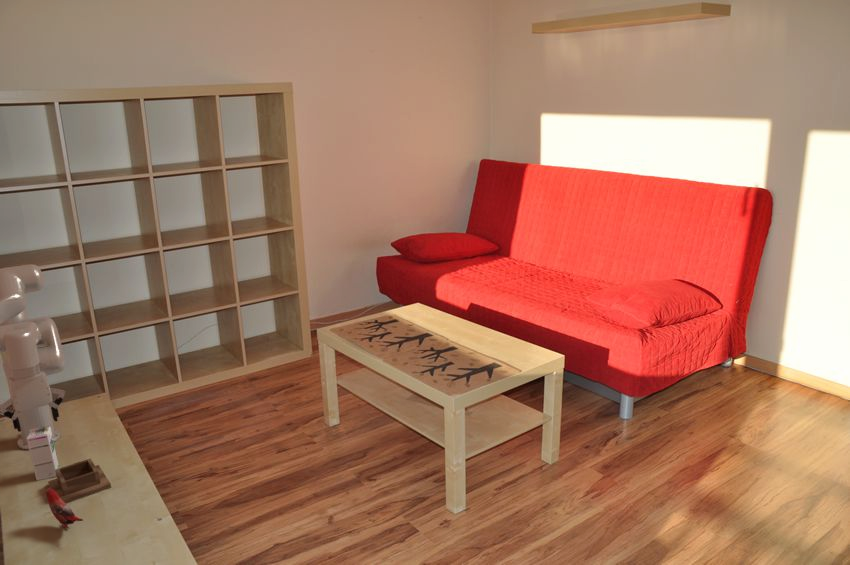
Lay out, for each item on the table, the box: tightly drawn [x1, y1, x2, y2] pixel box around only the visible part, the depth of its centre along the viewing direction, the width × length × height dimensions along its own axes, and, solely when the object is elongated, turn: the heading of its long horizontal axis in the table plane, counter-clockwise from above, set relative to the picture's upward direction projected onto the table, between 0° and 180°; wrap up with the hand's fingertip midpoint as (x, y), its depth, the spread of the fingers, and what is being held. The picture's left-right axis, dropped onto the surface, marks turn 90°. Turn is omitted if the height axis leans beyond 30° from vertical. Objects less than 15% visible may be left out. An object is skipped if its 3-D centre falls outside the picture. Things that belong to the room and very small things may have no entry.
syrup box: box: [27, 426, 60, 481], centre depth 205 cm, size 6×6×14 cm
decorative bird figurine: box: [45, 488, 84, 530], centre depth 178 cm, size 3×18×10 cm, turn 55°
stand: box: [47, 458, 112, 504], centre depth 199 cm, size 14×14×5 cm
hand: (37, 425), depth 202 cm, fingers open, 9 cm apart
